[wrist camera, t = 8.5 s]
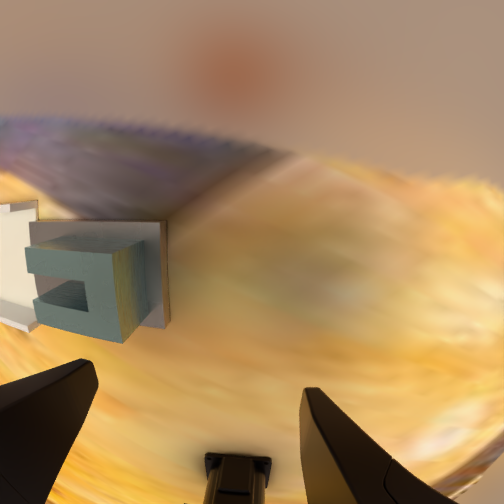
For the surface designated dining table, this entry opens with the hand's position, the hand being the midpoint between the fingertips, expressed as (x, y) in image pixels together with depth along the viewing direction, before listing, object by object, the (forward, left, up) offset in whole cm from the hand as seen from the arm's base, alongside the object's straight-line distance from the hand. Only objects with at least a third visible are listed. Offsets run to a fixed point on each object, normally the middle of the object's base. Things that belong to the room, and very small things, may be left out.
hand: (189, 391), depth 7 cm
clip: (0, +9, -10) cm, 13 cm away
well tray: (0, +23, -11) cm, 26 cm away
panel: (0, +10, -11) cm, 15 cm away
